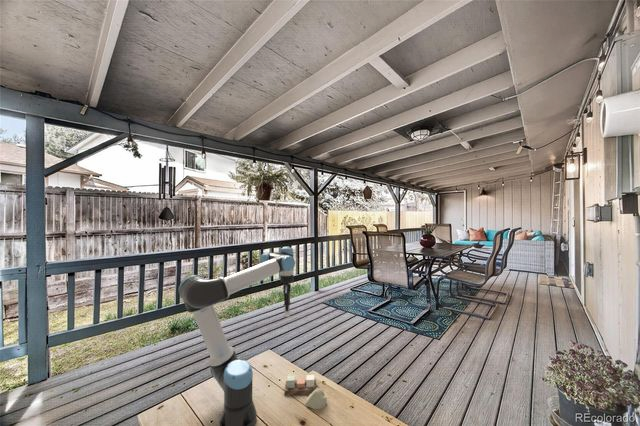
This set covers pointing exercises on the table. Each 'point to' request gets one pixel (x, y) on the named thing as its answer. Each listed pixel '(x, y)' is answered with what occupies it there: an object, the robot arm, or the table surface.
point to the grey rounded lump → (316, 399)
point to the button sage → (291, 381)
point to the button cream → (310, 380)
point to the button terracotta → (301, 383)
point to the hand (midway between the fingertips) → (287, 316)
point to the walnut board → (299, 389)
